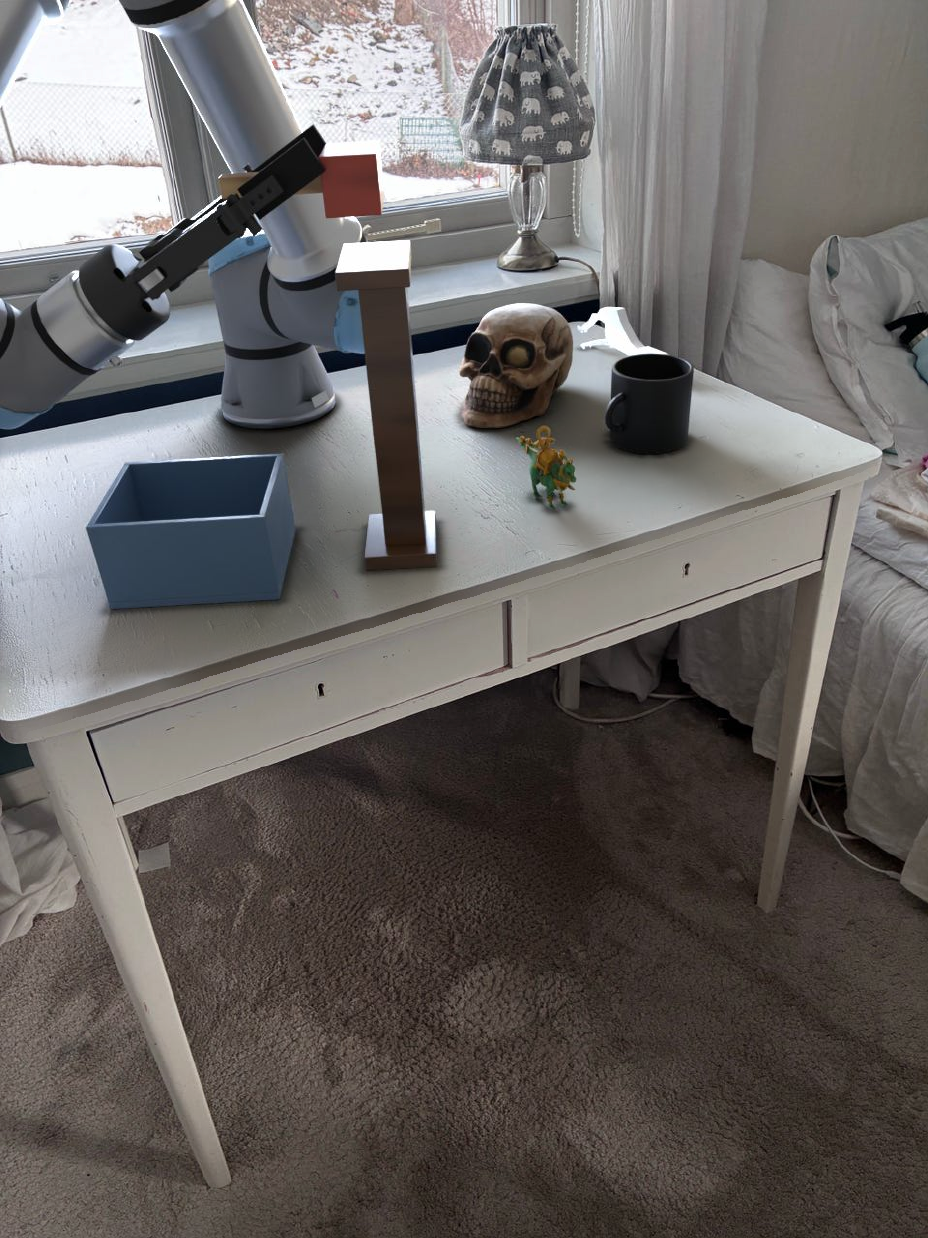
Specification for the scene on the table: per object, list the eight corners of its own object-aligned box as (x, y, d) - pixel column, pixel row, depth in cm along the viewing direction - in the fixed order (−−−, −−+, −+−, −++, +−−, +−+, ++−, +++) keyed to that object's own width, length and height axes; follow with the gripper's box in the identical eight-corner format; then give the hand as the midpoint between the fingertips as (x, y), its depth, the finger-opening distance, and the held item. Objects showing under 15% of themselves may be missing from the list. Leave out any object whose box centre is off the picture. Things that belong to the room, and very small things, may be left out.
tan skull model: (464, 430, 120) (462, 320, 114) (454, 394, 136) (452, 296, 129) (587, 425, 121) (591, 316, 115) (563, 390, 137) (566, 293, 130)
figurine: (561, 522, 100) (562, 450, 95) (505, 479, 109) (504, 411, 104) (586, 515, 101) (588, 443, 96) (529, 473, 110) (528, 405, 105)
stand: (370, 524, 101) (337, 243, 85) (435, 520, 101) (415, 239, 85) (365, 573, 93) (328, 273, 77) (437, 569, 93) (414, 268, 77)
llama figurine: (589, 392, 146) (664, 378, 130) (573, 316, 143) (648, 293, 127) (599, 389, 147) (675, 375, 131) (583, 314, 144) (659, 291, 128)
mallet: (233, 206, 82) (223, 149, 80) (384, 197, 82) (379, 139, 80) (219, 224, 76) (208, 163, 74) (381, 215, 76) (376, 153, 74)
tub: (145, 538, 101) (125, 462, 96) (295, 529, 101) (283, 452, 96) (110, 609, 90) (85, 527, 85) (279, 599, 90) (264, 516, 85)
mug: (577, 443, 116) (578, 371, 111) (647, 417, 122) (651, 347, 117) (632, 468, 110) (637, 393, 104) (704, 439, 115) (711, 366, 110)
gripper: (163, 308, 93) (354, 168, 87) (108, 381, 77) (338, 214, 70) (107, 241, 89) (302, 88, 83) (37, 302, 73) (273, 118, 66)
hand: (318, 146), depth 77 cm, fingers closed on mallet, 7 cm apart
